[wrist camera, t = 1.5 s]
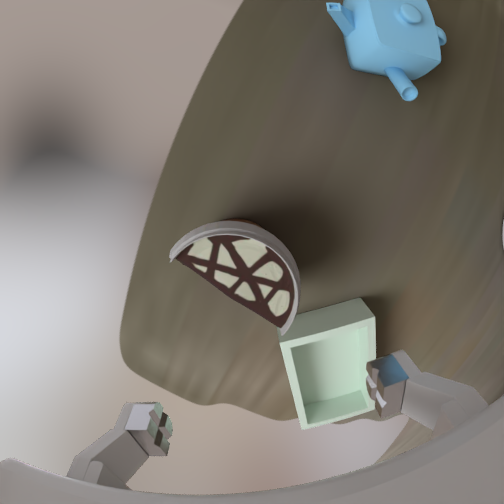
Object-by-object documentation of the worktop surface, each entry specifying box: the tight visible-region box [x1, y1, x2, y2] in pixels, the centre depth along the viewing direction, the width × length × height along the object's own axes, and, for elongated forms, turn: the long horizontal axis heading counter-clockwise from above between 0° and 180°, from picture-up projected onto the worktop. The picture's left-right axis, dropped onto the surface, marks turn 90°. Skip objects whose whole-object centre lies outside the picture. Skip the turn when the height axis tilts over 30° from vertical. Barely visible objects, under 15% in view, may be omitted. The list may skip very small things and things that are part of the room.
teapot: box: [326, 0, 446, 101], centre depth 20 cm, size 18×14×10 cm
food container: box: [169, 218, 301, 336], centre depth 27 cm, size 12×6×10 cm, turn 53°
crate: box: [277, 297, 376, 430], centre depth 34 cm, size 11×17×5 cm, turn 14°
